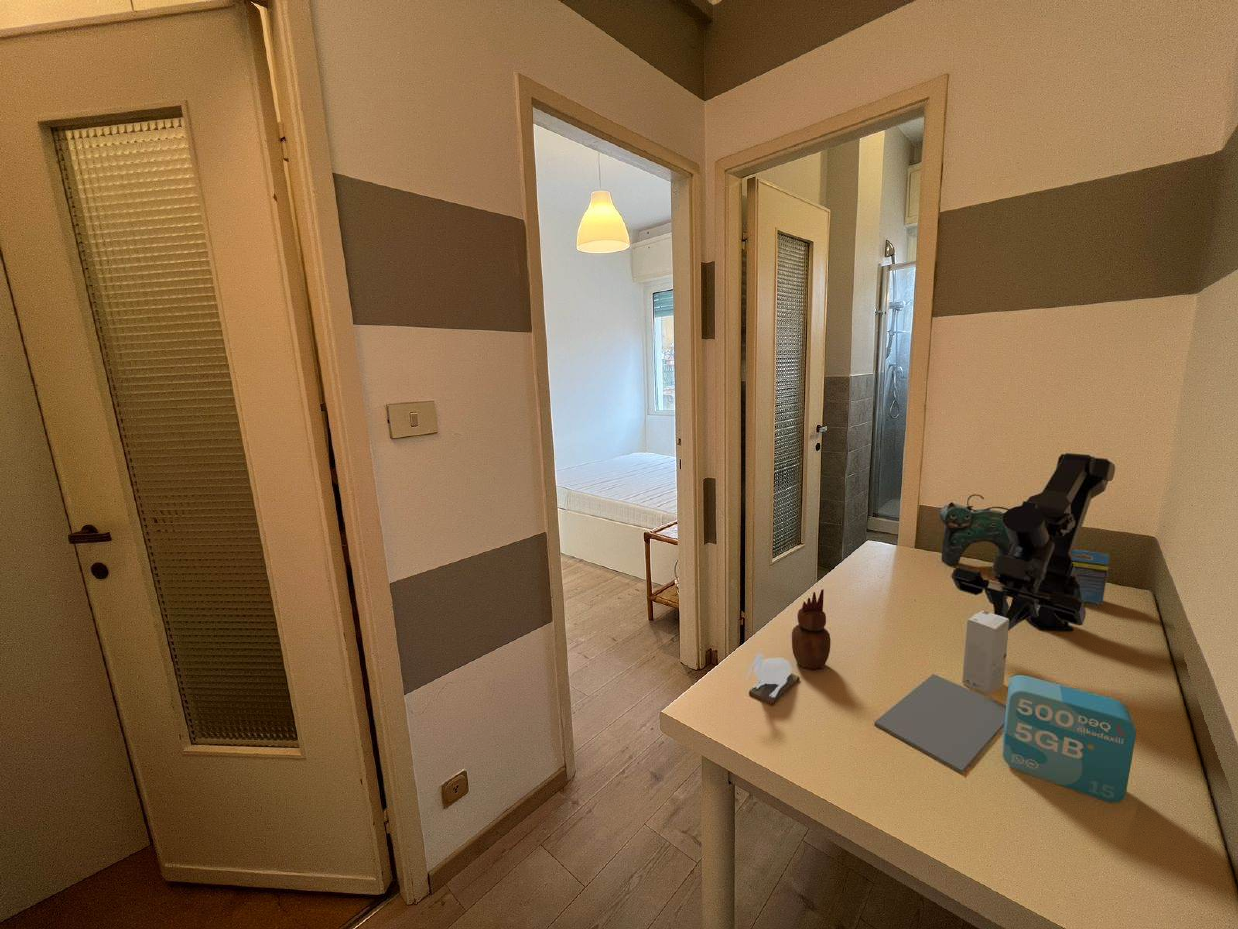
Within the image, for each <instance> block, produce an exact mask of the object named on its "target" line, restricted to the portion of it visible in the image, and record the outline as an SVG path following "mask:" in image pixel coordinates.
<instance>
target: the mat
mask: <svg viewBox="0 0 1238 929" xmlns="http://www.w3.org/2000/svg"><path fill="white" fill-rule="evenodd" d="M1005 713H1006V704H1003V703H1001V702H998V701H996V700H994V699H993V698H989V697H987V696H986V695H982V693H981V694H980V693H979V692H977V691H976V692H975V691H974V690H971V689H969V688H966V687H964V686H962V685H960V684H957V683H955V682H953V681H950V680H948V679H946V678H943V677H941V676H939V675H937V674H935V673H932V675H930V676H929V677H927V678H926V679H925V680H924V681H922V682H921V684H919V685H918V686H916V687H915V688H914V689H913V690H912V691H911V692H909V693H908V694H907V695H905V696H904V697H903V698H902V699H900V700H899V701H898V702H897V703H896V704H894V706H892V707H890V709H889V710H887V711H885V713H884V714H882V715H881V716H880V717H878V718H877V719H876V720H874V723H873V724H874V726H876V727H878V728H879V729H882V730H883V731H885V732H887V733H889V734H890V735H892V736H894V737H896V738H898V739H899V740H900V741H903V742H904V743H906V744H908V745H910V746H912V747H914V748H915V749H917V750H919V751H921V752H922V753H924V754H926V755H928V756H929V757H930V758H931V757H932V758H933V759H935V760H937V761H939V763H942V764H944V765H946V766H947V767H949V768H951V769H953V770H955V771H956V772H958V773H959V774H963V773H964V772H965V771H966V769H967V768H969V766H970V765H971V764H972V763H973V762H974V761H975V760H976V759H977V757H978V756H979V755H980V754H981V753H982V752H983V750H984V749H985V748H986V747H987V746H988V745H989V743H991V741H992V740H993V739H994V738H995V736H997V735H998V733H999V732H1000V731H1001V730H1002V729H1003V728H1004V721H1005Z"/></svg>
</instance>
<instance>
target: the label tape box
mask: <svg viewBox="0 0 1238 929" xmlns="http://www.w3.org/2000/svg"><path fill="white" fill-rule="evenodd" d="M1082 555H1083V556H1085V557H1088V558H1082V557H1081V558H1080V556H1082ZM1076 556H1079V557H1076ZM1089 558H1090V559H1089ZM1071 560H1072V562H1073V565H1074V567H1075V570H1076V572H1077V577H1078V580H1079V584H1080V586H1081V593H1082V597H1081V600H1082V601H1083V602H1084V603H1088V602H1090V603H1089V604H1094V603H1095V605H1100V604H1101V605H1102V606H1103V602H1104V596H1105V591H1106V585H1107V579H1108V574H1109V569H1110V567H1109V566H1110V565H1109V563H1110V553H1102V552H1094V551H1087V550H1080V549H1079V550H1078V549H1074V552H1073V555H1072V558H1071Z"/></svg>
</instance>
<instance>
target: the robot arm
mask: <svg viewBox="0 0 1238 929" xmlns="http://www.w3.org/2000/svg"><path fill="white" fill-rule="evenodd" d="M1057 458H1058V459H1057V462H1056V467H1055V468H1056V469H1055V470H1054V472H1053V473H1052V475H1051V477H1050V478H1049V480H1048V482H1047V483H1046V485H1045V487H1044V489H1043V490H1042V491H1041V492H1040V493H1037V494H1034V495H1031V496H1029V497H1028V499H1026V500H1025V501H1022V504H1021V505H1017V506H1014V507H1011V508H1008V509H1009V510H1006V511H1005V512H1003V513H1004V514H1003V518H1002V519H1003V523H1004V526H1005V529H1006V532H1007V534H1008V537H1009V540H1010V541H1011V542H1012V543H1013V545H1012V547H1011V550H1010V552H1009V555H1008V554H1007V555H1006V556H1001V555H999V554H995V557H994V560H993V564H992V567H991V572H992V573H994V574H993V577H994V579H996V580H997V581H996V580H993V579H985V578H983V575H982V574H981V571H980V570H975V569H972V568H968V567H965V566H960V565H958V567H956V568H954V569H953V571H952V573H951V576H950V577H951V579H952V581H953V583H954V585H955V587H956V588H957V590H959V591H961V592H964V593H967V594H971V595H974V596H977V595H980V594H983V592H984V593H985V595H986V598H987V599H988V602H989V603H990V604H992V605H993V614H996V615H999V616H1002V617H1005V618H1008V619H1009V627H1008V632H1009V631H1010V630H1012V629H1013V628H1014V627H1015V626H1017V625H1018V624H1019V623H1021V622H1023V621H1026V622H1028V623H1030V624H1031V625H1032V626H1034V627H1035V628H1036V629H1039V630H1040V631H1041V630H1042V631H1065V632H1066V631H1067V632H1069V631H1070V632H1074V627H1073V626H1071V625H1070V624H1073V625H1076V626H1083V625H1084V622H1085V618H1086V613H1087V612H1086V608H1085V602H1083V601H1082V600H1081V597H1082V593H1081V586H1080V584H1079V580H1078V577H1077V572H1076V570H1075V567H1074V565H1073V562H1072V560H1071V558H1072V555H1073V552H1074V550H1076V549H1075V548H1076V545H1077V542H1078V539H1079V536H1080V534H1081V531H1082V528H1083V525H1084V521H1085V518H1086V516H1087V512H1088V510H1089V507H1090V504H1091V501H1092V499H1094V498H1095V497H1097V496H1099V495H1100V494H1102V493H1103V492H1105V491H1106V488H1107V485H1108V483H1109V482H1112V481H1113V480H1114V477H1115V473H1116V465H1115V464H1114V463H1113V462H1111V461H1110V460H1109V459H1108V458H1102V457H1095V456H1091V455H1090V454H1081V453H1071V452H1067V453H1061V455H1059V456H1058V457H1057ZM1009 598H1012V599H1011V604H1010V605H1009V602H1008V600H1009Z"/></svg>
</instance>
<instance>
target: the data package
mask: <svg viewBox="0 0 1238 929" xmlns="http://www.w3.org/2000/svg"><path fill="white" fill-rule="evenodd" d="M1005 705H1006V713H1005V721H1004V726H1003V728H1002V729H1003V732H1002V757H1003V760H1004V761H1005V763H1006V764H1007V765H1008V766H1009V767H1011V768H1012V769H1014V770H1015V771H1019V772H1021V773H1025V774H1026V775H1030V776H1032V777H1035V778H1038V779H1041V780H1044V781H1047V782H1050V783H1053V784H1056V785H1058V786H1061V787H1064V788H1067V789H1069V790H1072V791H1076V792H1078V793H1081V794H1083V795H1085V796H1089V797H1091V798H1095V799H1097V800H1100V801H1103V802H1106V803H1111V804H1112V803H1113V804H1117V803H1120V802H1123V801H1124V800H1125V798H1126V795H1127V789H1128V783H1129V778H1130V773H1131V768H1132V767H1131V766H1132V760H1133V756H1134V749H1135V746H1136V745H1135V744H1136V738H1137V730H1136V726H1135V724H1134V721H1133V719H1132V716H1131V713H1130V710H1129V708H1128V707H1127V706H1126V705H1125V704H1124V703H1123V702H1121V701H1119V700H1117V699H1114V698H1113V697H1112V698H1110V697H1108V696H1104V695H1100V694H1095V693H1092V692H1089V691H1084V690H1080V689H1077V688H1073V687H1069V686H1066V685H1062V684H1059V683H1058V684H1057V683H1054V682H1052V681H1047V680H1043V679H1039V678H1035V677H1032V676H1027V675H1023V674H1019V675H1014V676H1012V677H1011V678H1010V679H1009V682H1008V690H1007V698H1006V704H1005Z"/></svg>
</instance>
